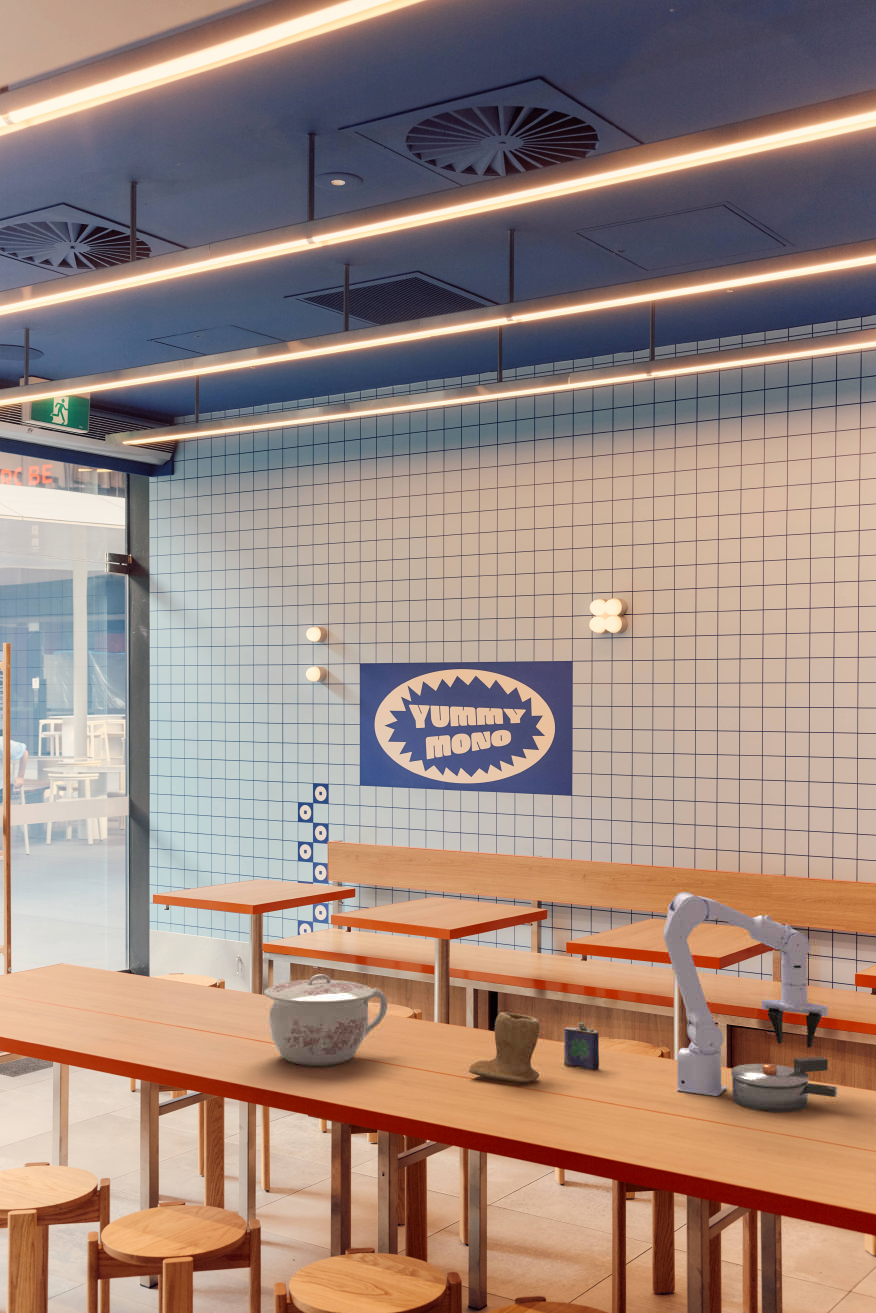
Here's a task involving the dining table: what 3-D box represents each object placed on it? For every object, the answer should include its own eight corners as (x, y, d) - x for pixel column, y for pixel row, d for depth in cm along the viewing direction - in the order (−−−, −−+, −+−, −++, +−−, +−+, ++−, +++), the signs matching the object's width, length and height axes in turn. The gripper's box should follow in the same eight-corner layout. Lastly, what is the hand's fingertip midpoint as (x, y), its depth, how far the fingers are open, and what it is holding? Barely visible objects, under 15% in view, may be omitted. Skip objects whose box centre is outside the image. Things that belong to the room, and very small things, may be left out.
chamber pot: (242, 1068, 291) (244, 979, 293) (289, 1043, 317) (291, 962, 319) (352, 1078, 283) (353, 987, 284) (390, 1052, 309) (392, 969, 311)
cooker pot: (724, 1105, 264) (724, 1081, 264) (742, 1088, 278) (742, 1066, 278) (829, 1120, 254) (829, 1095, 254) (842, 1102, 268) (842, 1078, 268)
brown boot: (548, 1077, 286) (549, 1012, 287) (525, 1089, 275) (526, 1021, 277) (491, 1068, 293) (492, 1005, 295) (467, 1079, 283) (468, 1013, 285)
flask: (562, 1065, 298) (562, 1020, 299) (568, 1063, 300) (568, 1018, 301) (596, 1071, 292) (596, 1025, 293) (601, 1069, 295) (601, 1023, 296)
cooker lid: (757, 1089, 258) (757, 1073, 258) (717, 1070, 273) (717, 1055, 273) (847, 1083, 264) (846, 1066, 264) (803, 1064, 280) (802, 1049, 280)
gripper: (757, 983, 278) (758, 1043, 277) (822, 989, 271) (823, 1052, 270) (765, 978, 285) (766, 1038, 283) (829, 984, 277) (830, 1045, 276)
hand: (794, 1044), depth 277 cm, fingers open, 6 cm apart
